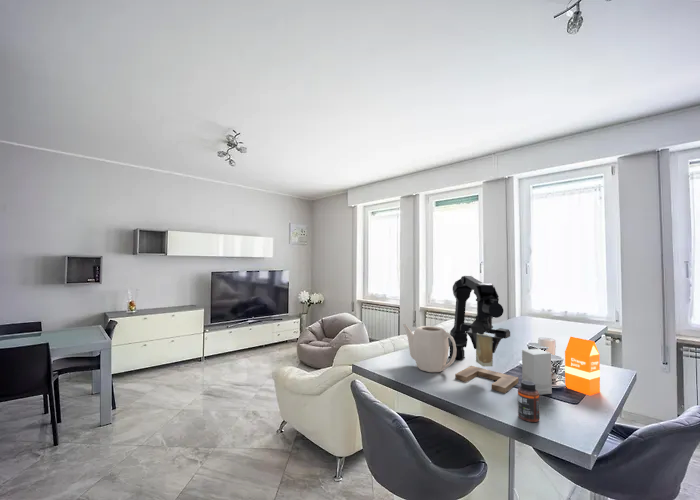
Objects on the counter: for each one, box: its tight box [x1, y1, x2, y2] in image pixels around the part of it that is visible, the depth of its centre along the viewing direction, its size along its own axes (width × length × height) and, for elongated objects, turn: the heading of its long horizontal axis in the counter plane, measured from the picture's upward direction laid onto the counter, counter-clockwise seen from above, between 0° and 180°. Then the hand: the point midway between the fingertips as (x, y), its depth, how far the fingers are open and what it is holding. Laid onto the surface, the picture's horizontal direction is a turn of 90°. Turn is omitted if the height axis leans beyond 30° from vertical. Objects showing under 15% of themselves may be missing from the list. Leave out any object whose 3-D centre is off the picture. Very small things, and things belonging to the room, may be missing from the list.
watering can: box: [403, 323, 457, 373], centre depth 145 cm, size 16×27×19 cm, turn 51°
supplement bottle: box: [517, 380, 540, 423], centre depth 99 cm, size 6×6×11 cm
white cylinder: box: [537, 337, 557, 356], centre depth 144 cm, size 7×7×15 cm
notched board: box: [454, 365, 520, 394], centre depth 131 cm, size 20×16×2 cm
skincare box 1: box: [475, 332, 494, 368], centre depth 130 cm, size 6×4×12 cm
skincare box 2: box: [521, 348, 553, 396], centre depth 121 cm, size 8×7×16 cm
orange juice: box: [564, 336, 601, 397], centre depth 124 cm, size 8×9×20 cm
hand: (484, 350), depth 130 cm, fingers closed on skincare box 1, 7 cm apart
